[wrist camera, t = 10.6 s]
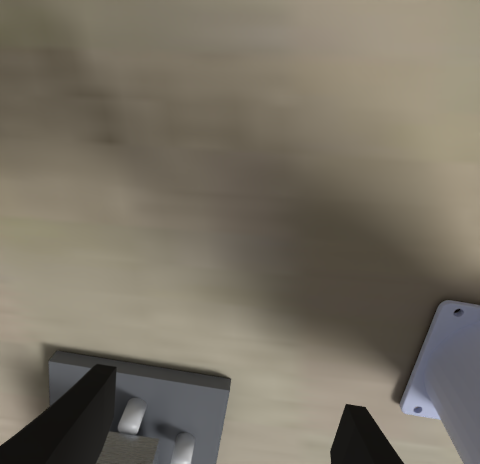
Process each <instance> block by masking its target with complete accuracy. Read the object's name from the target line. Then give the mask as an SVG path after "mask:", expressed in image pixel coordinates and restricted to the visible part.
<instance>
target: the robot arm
mask: <svg viewBox="0 0 480 464" xmlns="http://www.w3.org/2000/svg"><path fill="white" fill-rule="evenodd" d="M457 309H460V311H459V312H457V313H454V311H455V310H457ZM116 371H117V367H114V366H108V365H102V364H96V365H95V366H93V367H92V368H91V369H90V370H89V371H88V372H87V373H86V374H85V375H84V376H83V377H82V378H81V379H80V380H79V381H78V382H77V383H75V384H74V385H73V386H72V387H71V388H70V389H69V390H68V391H67V392H66V393H65V394H64V395H62V396H61V397H60V398H59V399H58V400H57V401H56V402H54V403H53V404H52V405H51V406H50V407H49V408H48V409H46V410H45V411H44V412H43V413H42V414H41V415H39V416H38V417H37V418H36V419H34V420H33V421H32V422H31V423H29V424H28V425H27V426H26V427H24V428H23V429H22V430H20V431H19V432H18V433H17V434H15V435H14V436H13V437H12V438H10V439H9V440H7V441H6V442H5V443H3V444H2V445H1V446H0V464H96V462H97V460H98V458H99V456H100V454H101V451H102V449H103V446H104V444H105V441H106V438H107V435H108V433H109V430H110V427H111V424H112V421H113V418H114V408H115V390H116ZM415 407H418V408H415ZM400 408H401V410H402V412H403V413H405V414H409V415H415V416H422V417H428V418H434V419H440V420H441V421H442V423H443V425H444V427H445V428H446V430H447V432H448V434H449V436H450V438H451V440H452V442H453V444H454V446H455V448H456V450H457V452H458V454H459V456H460V458H461V459H462V461H463V463H464V464H480V305H476V304H470V303H464V302H458V301H452V300H446V301H443V302H441V303H440V304H439V306H438V308H437V310H436V313H435V316H434V318H433V321H432V323H431V326H430V328H429V331H428V333H427V336H426V338H425V341H424V343H423V346H422V348H421V351H420V353H419V356H418V359H417V361H416V364H415V366H414V369H413V371H412V374H411V376H410V379H409V381H408V384H407V386H406V389H405V391H404V394H403V397H402V399H401V402H400ZM330 455H331V464H404V463H403V461H402V460H401V459H400V457H399V456H398V454H397V453H396V452H395V450H394V449H393V447H392V446H391V444H390V443H389V441H388V440H387V438H386V437H385V435H384V434H383V433H382V431H381V430H380V428H379V427H378V425H377V424H376V422H375V421H374V419H373V418H372V416H371V415H370V413H369V412H368V410H367V409H366V407H362V406H355V405H349V404H346V405H345V408H344V411H343V414H342V417H341V420H340V424H339V427H338V430H337V433H336V436H335V439H334V442H333V445H332V448H331V451H330Z"/></svg>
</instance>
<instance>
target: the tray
mask: <svg viewBox="0 0 480 464" xmlns="http://www.w3.org/2000/svg"><path fill="white" fill-rule="evenodd" d="M96 364H102V365H108V366H114V367H117V371H116V390H115V408H114V418H113V421H112V424H111V427H110V430H109V431H110V432H116V433H123V434H130V435H137V436H143V437H150V438H157V439H159V458H158V464H216V461H217V456H218V450H219V445H220V440H221V434H222V429H223V424H224V418H225V413H226V408H227V403H228V397H229V392H230V383H231V379H228V378H222V377H215V376H209V375H203V374H197V373H191V372H185V371H179V370H172V369H166V368H160V367H154V366H148V365H142V364H136V363H130V362H123V361H117V360H111V359H105V358H99V357H93V356H87V355H80V354H74V353H68V352H62V351H56V352H55V353H54V355H53V356H52V357H51V359H50V360H49V394H50V406H51V405H52V404H53V403H54V402H56V401H57V400H58V399H59V398H60V397H61V396H62V395H64V394H65V393H66V392H67V391H68V390H69V389H70V388H71V387H72V386H73V385H74V384H75V383H77V382H78V381H79V380H80V379H81V378H82V377H83V376H84V375H85V374H86V373H87V372H88V371H89V370H90V369H91V368H92V367H93V366H95V365H96Z"/></svg>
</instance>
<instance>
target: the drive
mask: <svg viewBox="0 0 480 464" xmlns="http://www.w3.org/2000/svg"><path fill="white" fill-rule="evenodd" d="M158 458H159V439H157V438H150V437H143V436H137V435H130V434H123V433H116V432H110V431H109V433H108V435H107V438H106V441H105V444H104V446H103V449H102V451H101V454H100V456H99V458H98V460H97V462H96V464H158Z"/></svg>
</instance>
